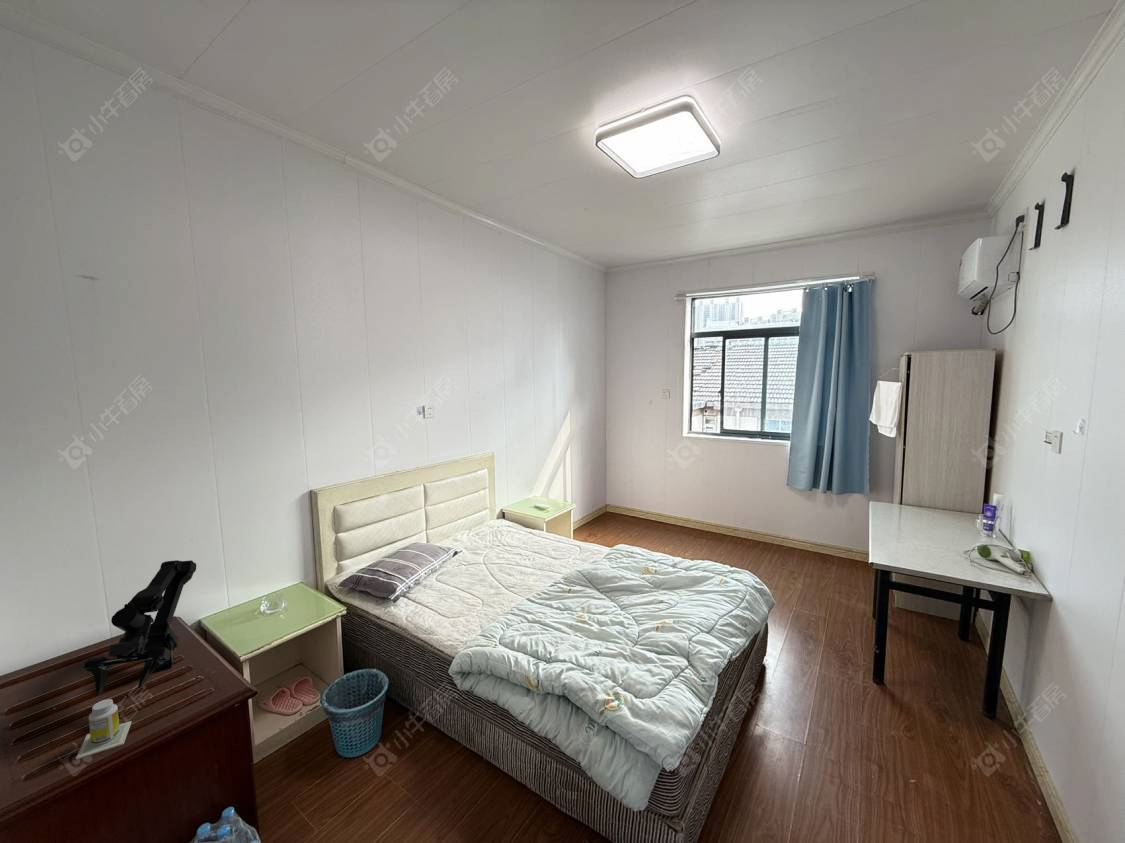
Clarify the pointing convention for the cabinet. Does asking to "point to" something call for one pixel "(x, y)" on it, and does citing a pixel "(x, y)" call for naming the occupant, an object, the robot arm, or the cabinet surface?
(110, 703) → the supplement bottle
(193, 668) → the cabinet surface
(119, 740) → the card
